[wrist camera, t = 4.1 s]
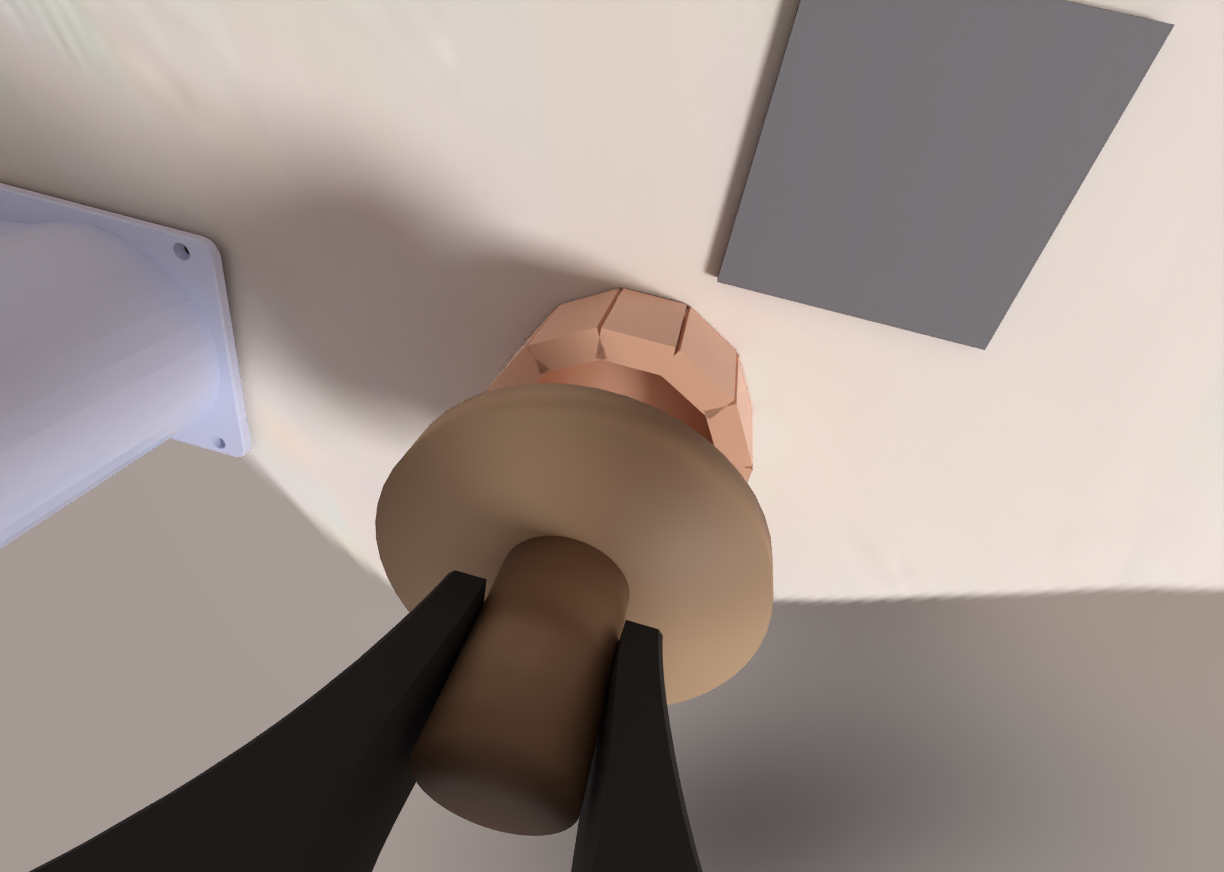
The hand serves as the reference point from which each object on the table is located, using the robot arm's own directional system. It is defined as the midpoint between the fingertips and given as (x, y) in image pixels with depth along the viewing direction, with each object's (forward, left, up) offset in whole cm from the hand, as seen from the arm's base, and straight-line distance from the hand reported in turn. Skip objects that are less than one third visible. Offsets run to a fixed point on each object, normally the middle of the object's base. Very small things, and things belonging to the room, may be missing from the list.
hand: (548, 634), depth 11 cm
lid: (0, 0, -2) cm, 2 cm away
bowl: (0, 0, -9) cm, 9 cm away
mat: (+5, +8, -9) cm, 13 cm away
